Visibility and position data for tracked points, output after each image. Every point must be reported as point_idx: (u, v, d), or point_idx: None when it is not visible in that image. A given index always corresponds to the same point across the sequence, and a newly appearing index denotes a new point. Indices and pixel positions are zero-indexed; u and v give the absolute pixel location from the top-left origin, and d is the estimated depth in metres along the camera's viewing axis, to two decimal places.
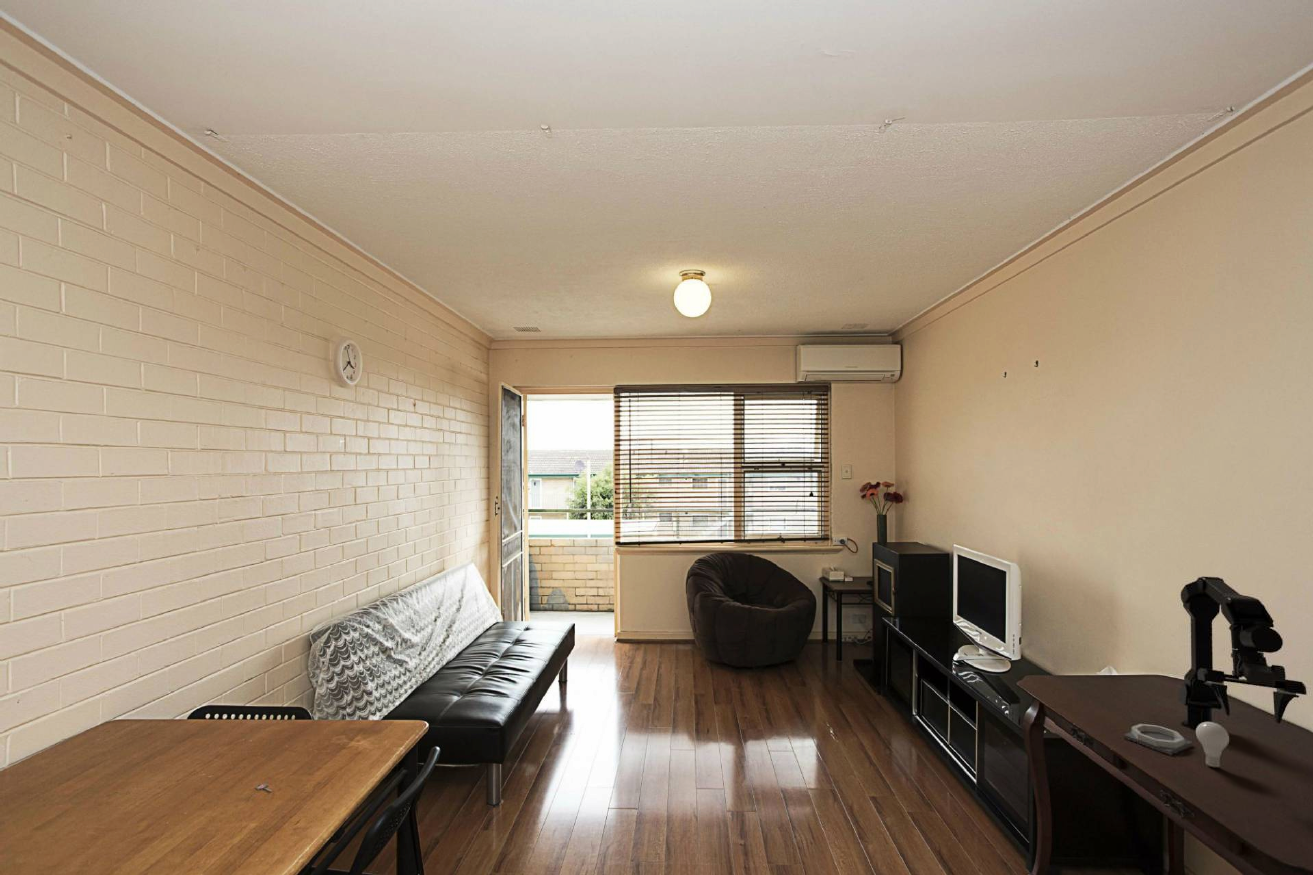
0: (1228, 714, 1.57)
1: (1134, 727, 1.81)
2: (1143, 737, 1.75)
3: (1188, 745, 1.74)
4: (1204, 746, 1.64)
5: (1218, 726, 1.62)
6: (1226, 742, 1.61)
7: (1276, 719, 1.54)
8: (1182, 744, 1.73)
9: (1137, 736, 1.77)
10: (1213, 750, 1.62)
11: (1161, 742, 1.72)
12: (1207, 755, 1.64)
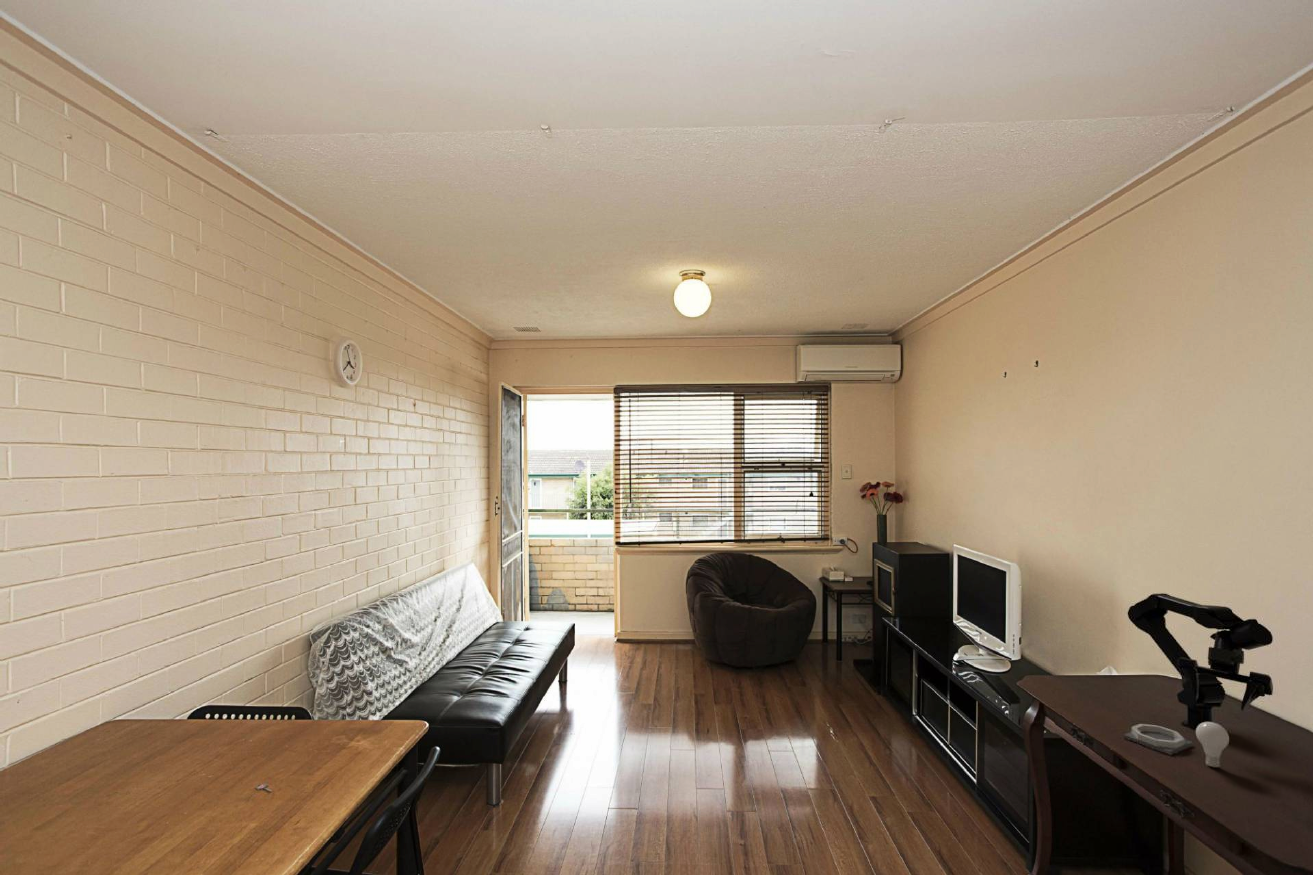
0: (1195, 696, 1.72)
1: (1134, 727, 1.81)
2: (1143, 737, 1.75)
3: (1188, 745, 1.74)
4: (1204, 746, 1.64)
5: (1218, 726, 1.62)
6: (1226, 742, 1.61)
7: None
8: (1182, 744, 1.73)
9: (1137, 736, 1.77)
10: (1213, 750, 1.62)
11: (1161, 742, 1.72)
12: (1207, 755, 1.64)
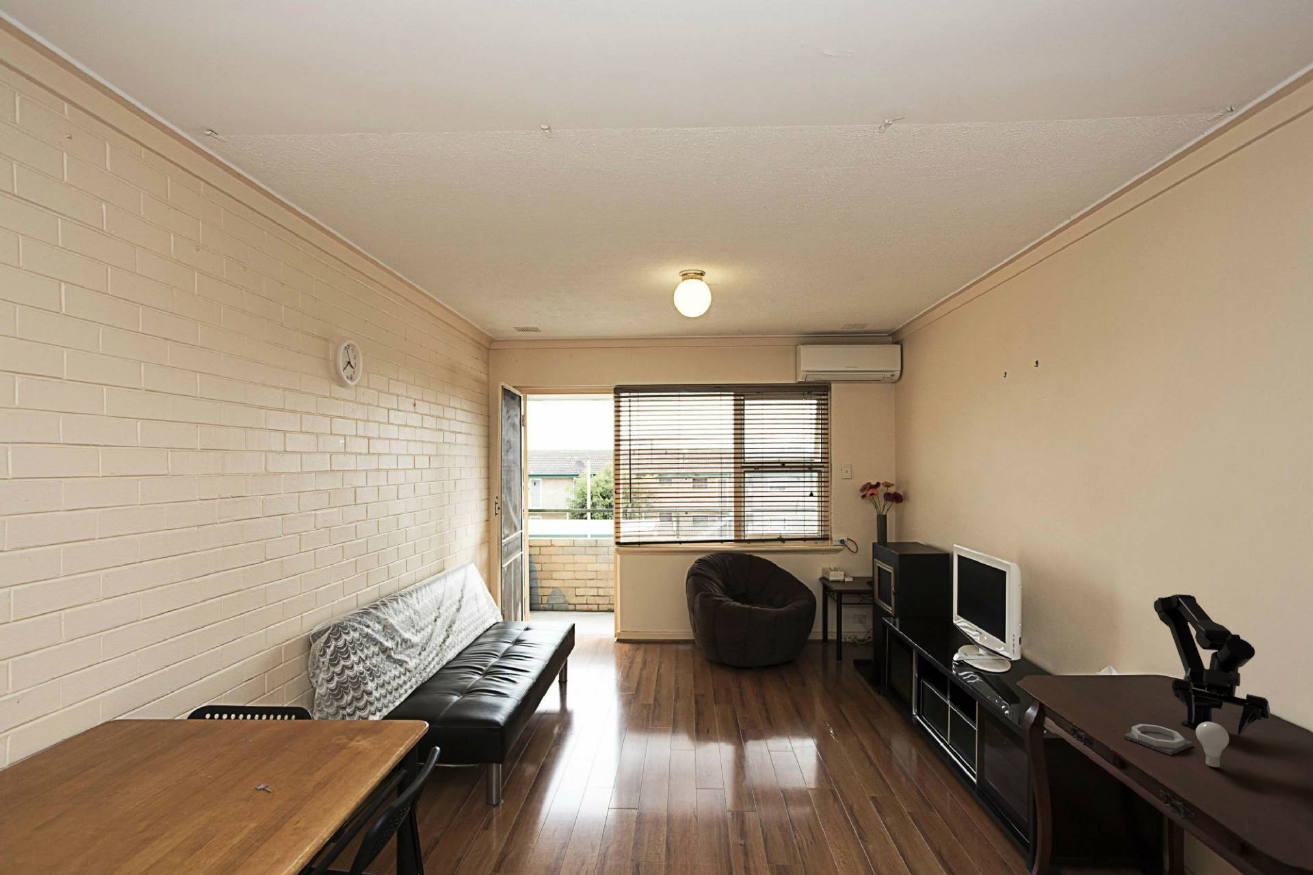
0: (1191, 720, 1.68)
1: (1134, 727, 1.81)
2: (1143, 737, 1.75)
3: (1188, 745, 1.74)
4: (1204, 746, 1.64)
5: (1218, 726, 1.62)
6: (1226, 742, 1.61)
7: (1238, 731, 1.62)
8: (1182, 744, 1.73)
9: (1137, 736, 1.77)
10: (1213, 750, 1.62)
11: (1161, 742, 1.72)
12: (1207, 755, 1.64)
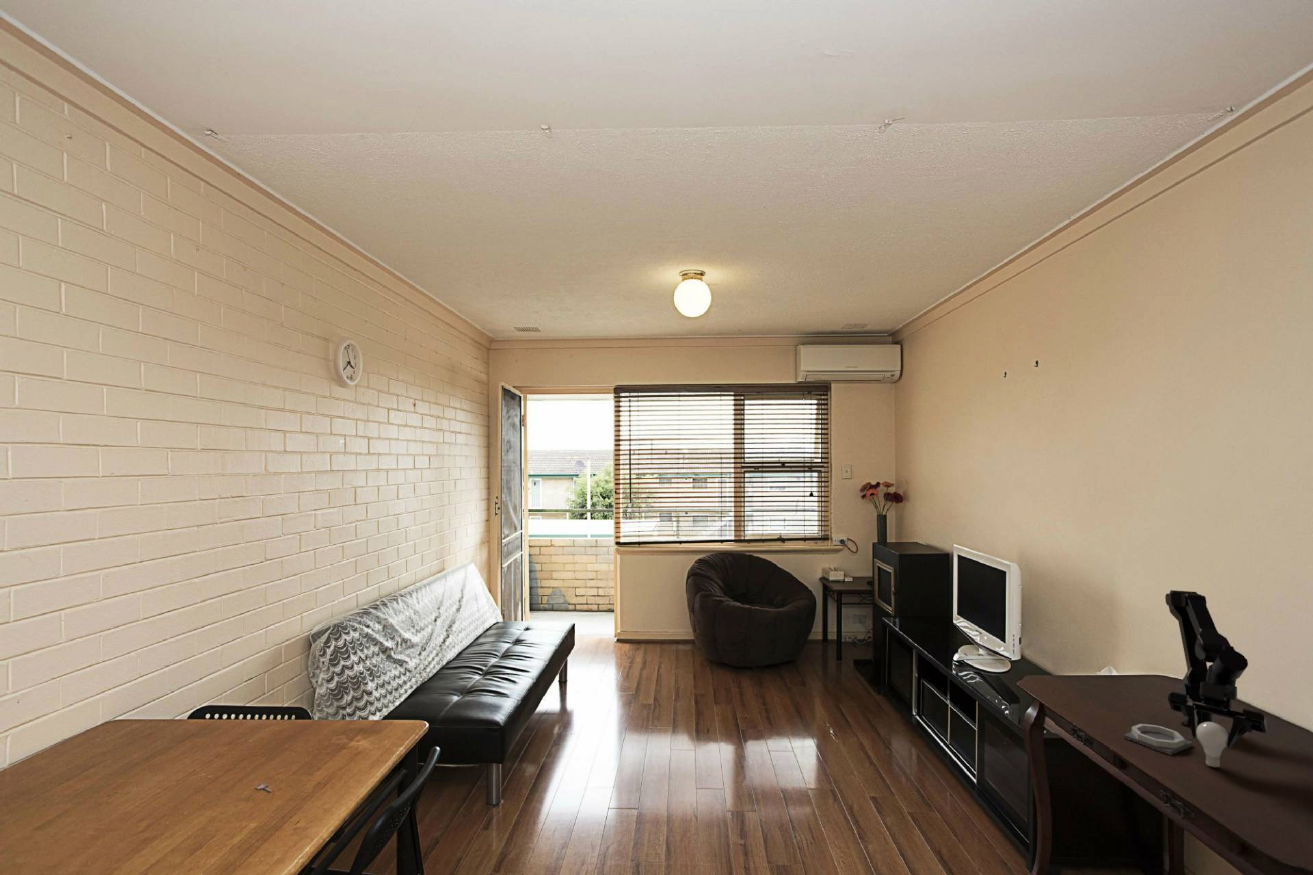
0: (1193, 735, 1.65)
1: (1134, 727, 1.81)
2: (1143, 737, 1.75)
3: (1188, 745, 1.74)
4: (1204, 746, 1.64)
5: (1218, 726, 1.62)
6: (1226, 742, 1.61)
7: (1228, 743, 1.61)
8: (1182, 744, 1.73)
9: (1137, 736, 1.77)
10: (1213, 750, 1.62)
11: (1161, 742, 1.72)
12: (1207, 755, 1.64)
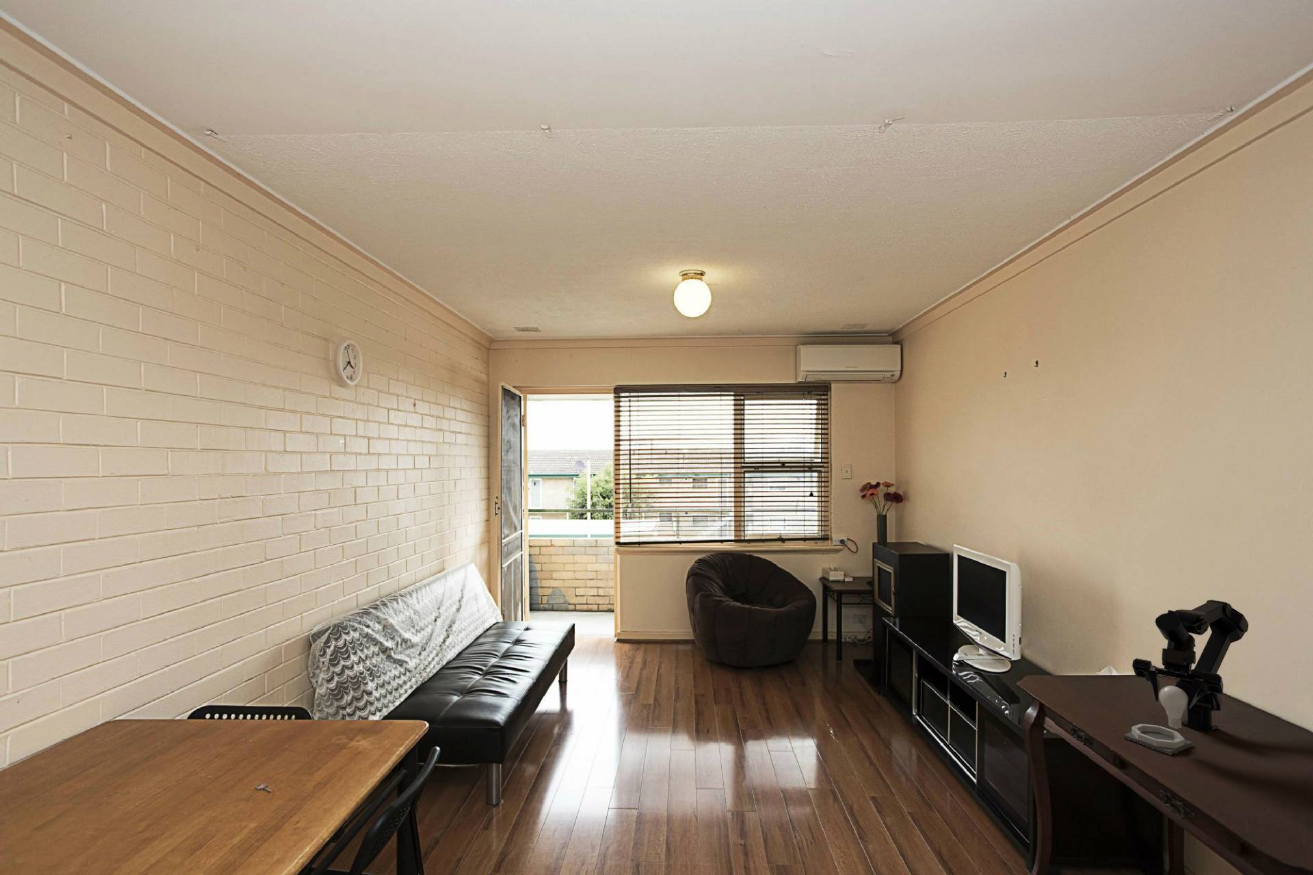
0: (1156, 698, 1.75)
1: (1134, 727, 1.81)
2: (1143, 737, 1.75)
3: (1188, 745, 1.74)
4: (1166, 709, 1.73)
5: (1178, 689, 1.72)
6: (1186, 704, 1.70)
7: (1188, 705, 1.70)
8: (1182, 744, 1.73)
9: (1137, 736, 1.77)
10: (1175, 712, 1.71)
11: (1161, 742, 1.72)
12: (1170, 717, 1.73)
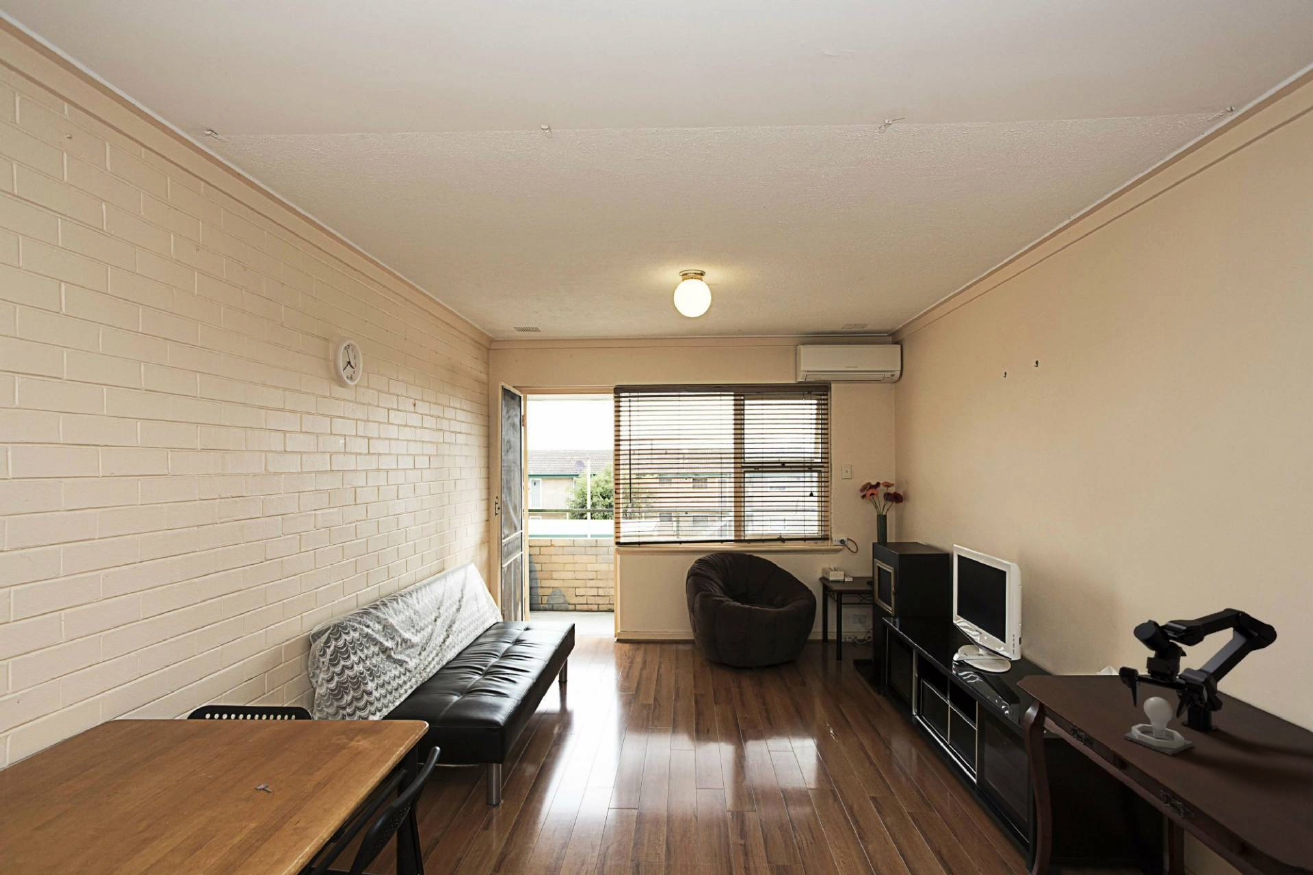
0: (1135, 704, 1.80)
1: (1134, 727, 1.81)
2: (1143, 737, 1.75)
3: (1188, 745, 1.74)
4: (1151, 719, 1.77)
5: (1163, 700, 1.76)
6: (1170, 715, 1.74)
7: None
8: (1182, 744, 1.73)
9: (1137, 736, 1.77)
10: (1159, 723, 1.75)
11: (1161, 742, 1.72)
12: (1154, 728, 1.77)
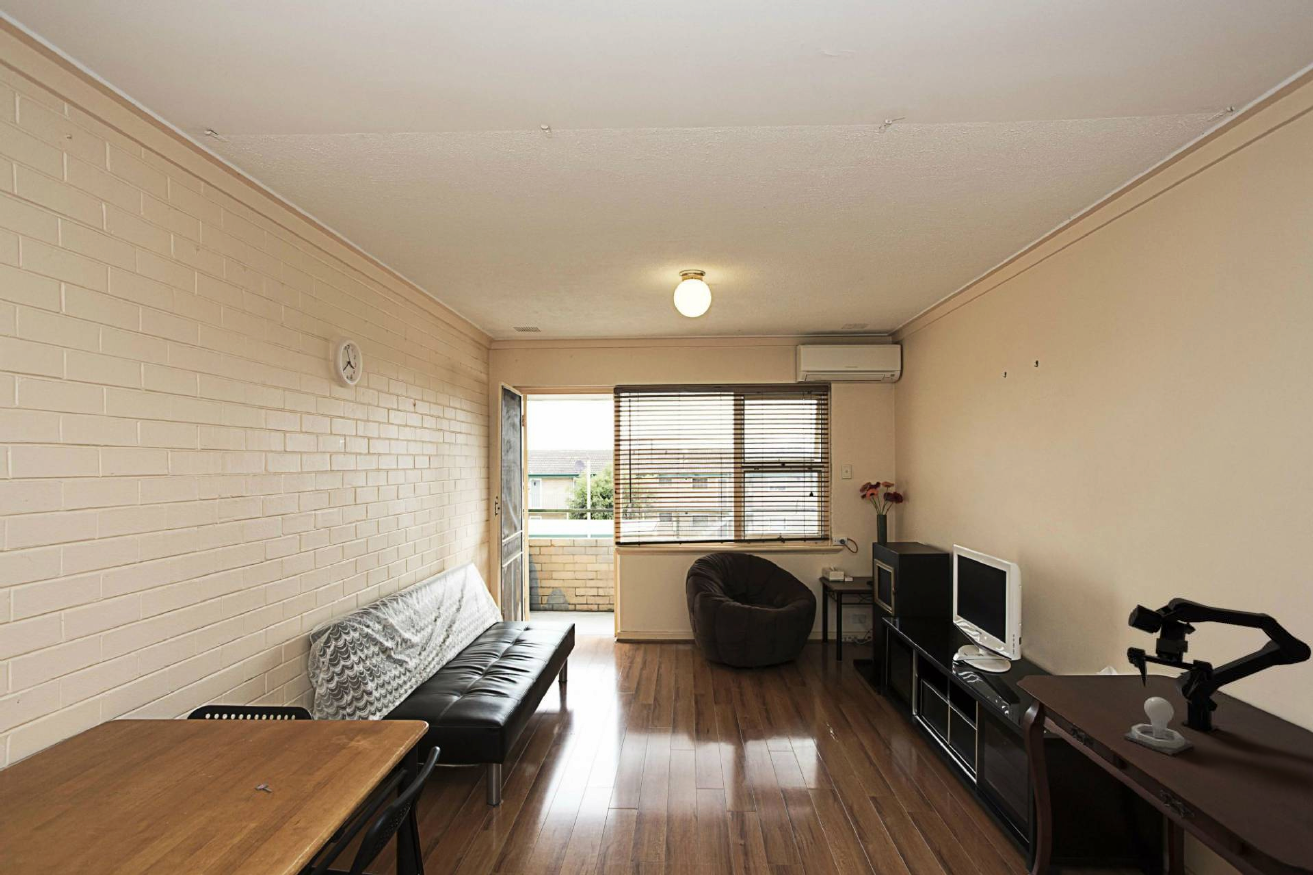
0: (1144, 684, 1.83)
1: (1134, 727, 1.81)
2: (1143, 737, 1.75)
3: (1188, 745, 1.74)
4: (1151, 719, 1.77)
5: (1164, 701, 1.76)
6: (1171, 715, 1.74)
7: (1186, 693, 1.77)
8: (1182, 744, 1.73)
9: (1137, 736, 1.77)
10: (1159, 723, 1.75)
11: (1161, 742, 1.72)
12: (1154, 728, 1.77)
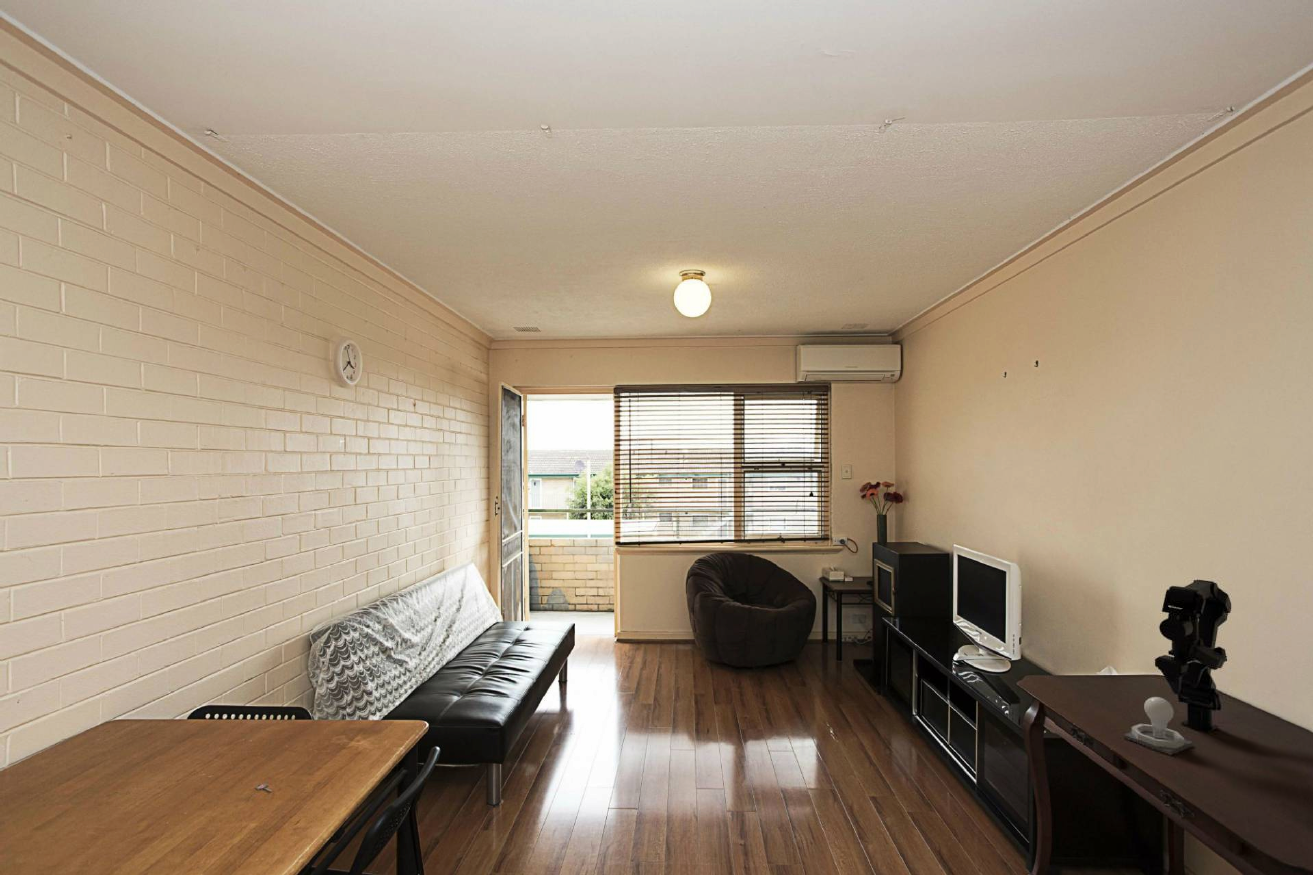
0: (1178, 693, 1.76)
1: (1134, 727, 1.81)
2: (1143, 737, 1.75)
3: (1188, 745, 1.74)
4: (1151, 719, 1.77)
5: (1164, 701, 1.76)
6: (1171, 715, 1.74)
7: (1193, 685, 1.81)
8: (1182, 744, 1.73)
9: (1137, 736, 1.77)
10: (1159, 723, 1.75)
11: (1161, 742, 1.72)
12: (1154, 728, 1.77)
